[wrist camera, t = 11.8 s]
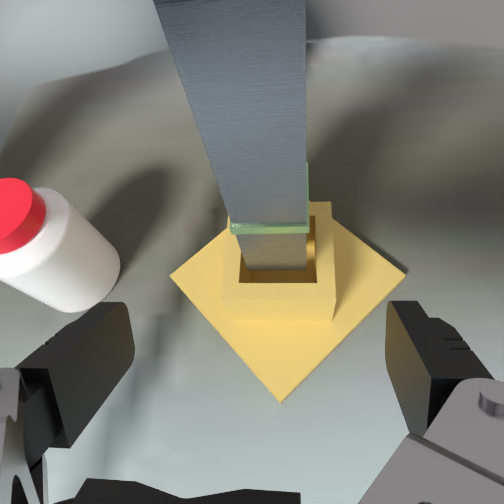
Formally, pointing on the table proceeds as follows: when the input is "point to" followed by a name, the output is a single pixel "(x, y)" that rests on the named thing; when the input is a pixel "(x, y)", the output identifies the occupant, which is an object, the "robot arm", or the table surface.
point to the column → (250, 115)
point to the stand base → (289, 299)
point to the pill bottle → (53, 249)
